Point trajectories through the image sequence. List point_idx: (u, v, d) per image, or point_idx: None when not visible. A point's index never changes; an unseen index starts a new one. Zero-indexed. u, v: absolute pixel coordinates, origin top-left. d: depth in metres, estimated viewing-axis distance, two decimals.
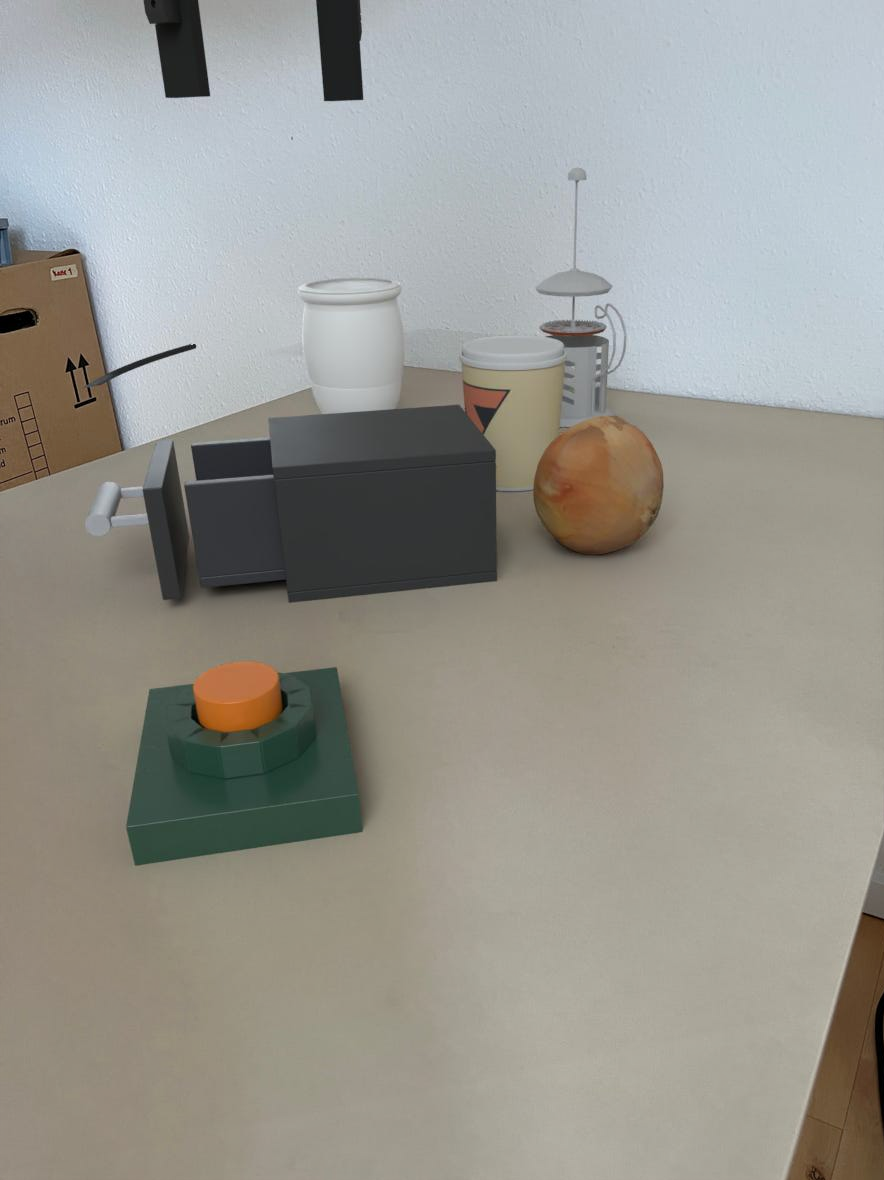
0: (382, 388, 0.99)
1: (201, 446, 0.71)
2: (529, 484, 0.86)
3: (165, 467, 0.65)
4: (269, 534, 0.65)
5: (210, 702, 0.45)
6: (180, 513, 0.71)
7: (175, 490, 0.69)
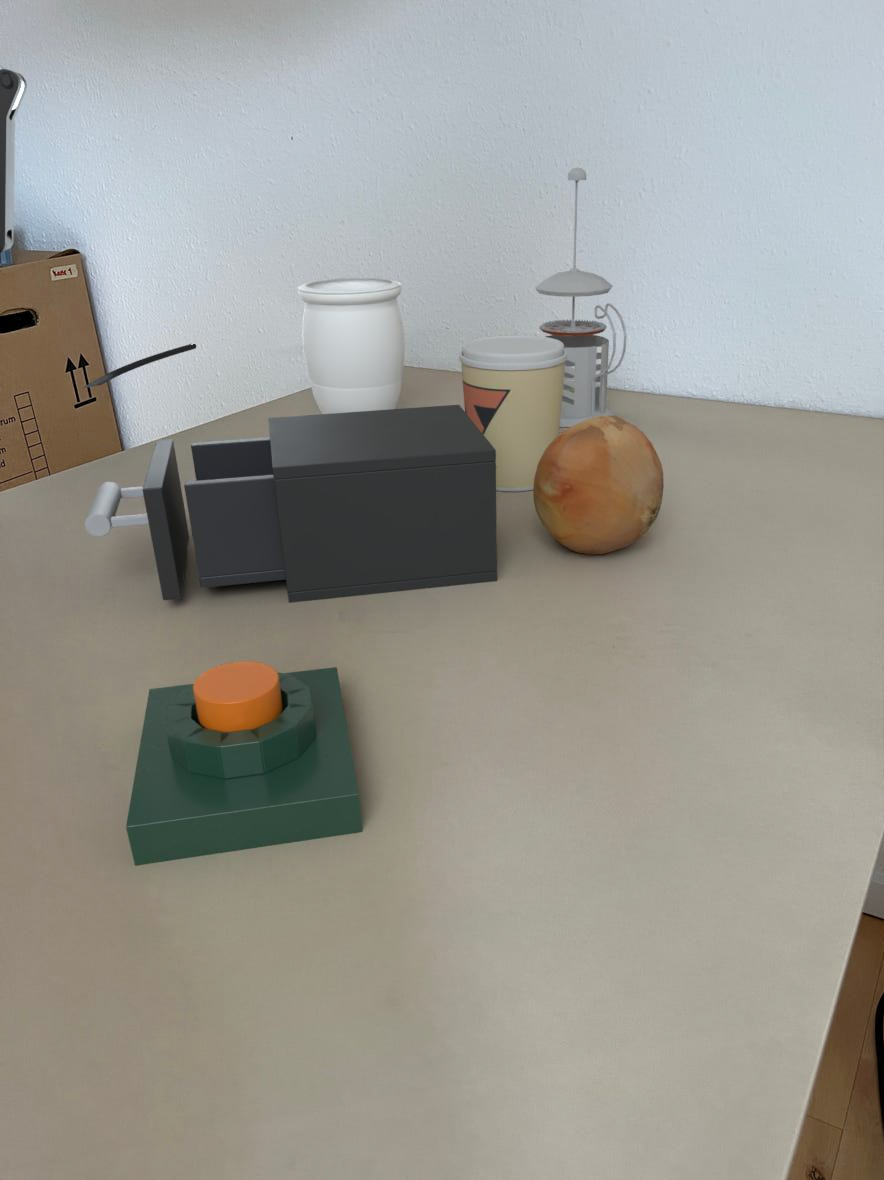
0: (382, 388, 0.99)
1: (201, 446, 0.71)
2: (529, 484, 0.86)
3: (165, 467, 0.65)
4: (269, 534, 0.65)
5: (210, 702, 0.45)
6: (180, 513, 0.71)
7: (175, 490, 0.69)
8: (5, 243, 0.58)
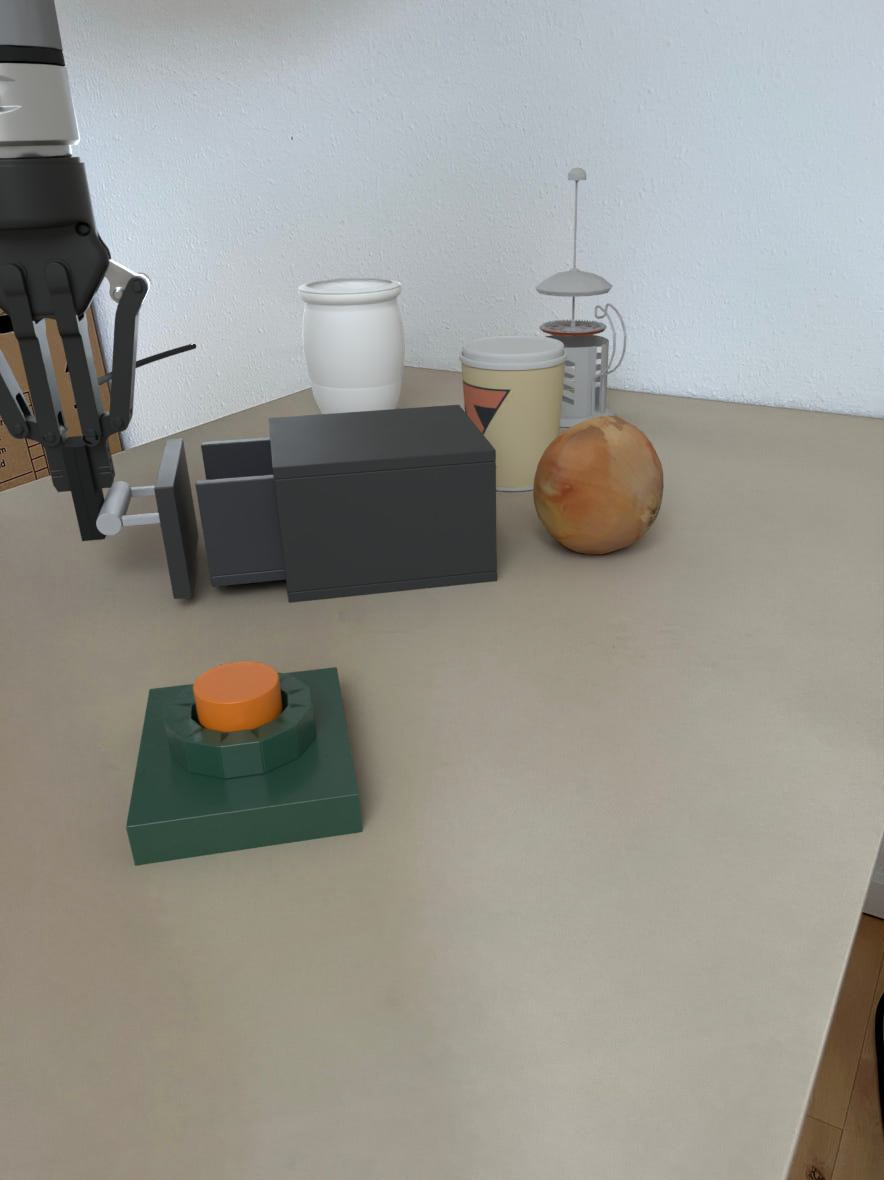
0: (382, 388, 0.99)
1: (211, 445, 0.71)
2: (529, 484, 0.86)
3: (176, 466, 0.65)
4: (280, 533, 0.65)
5: (210, 702, 0.45)
6: (190, 512, 0.71)
7: (185, 489, 0.69)
8: (128, 422, 0.64)
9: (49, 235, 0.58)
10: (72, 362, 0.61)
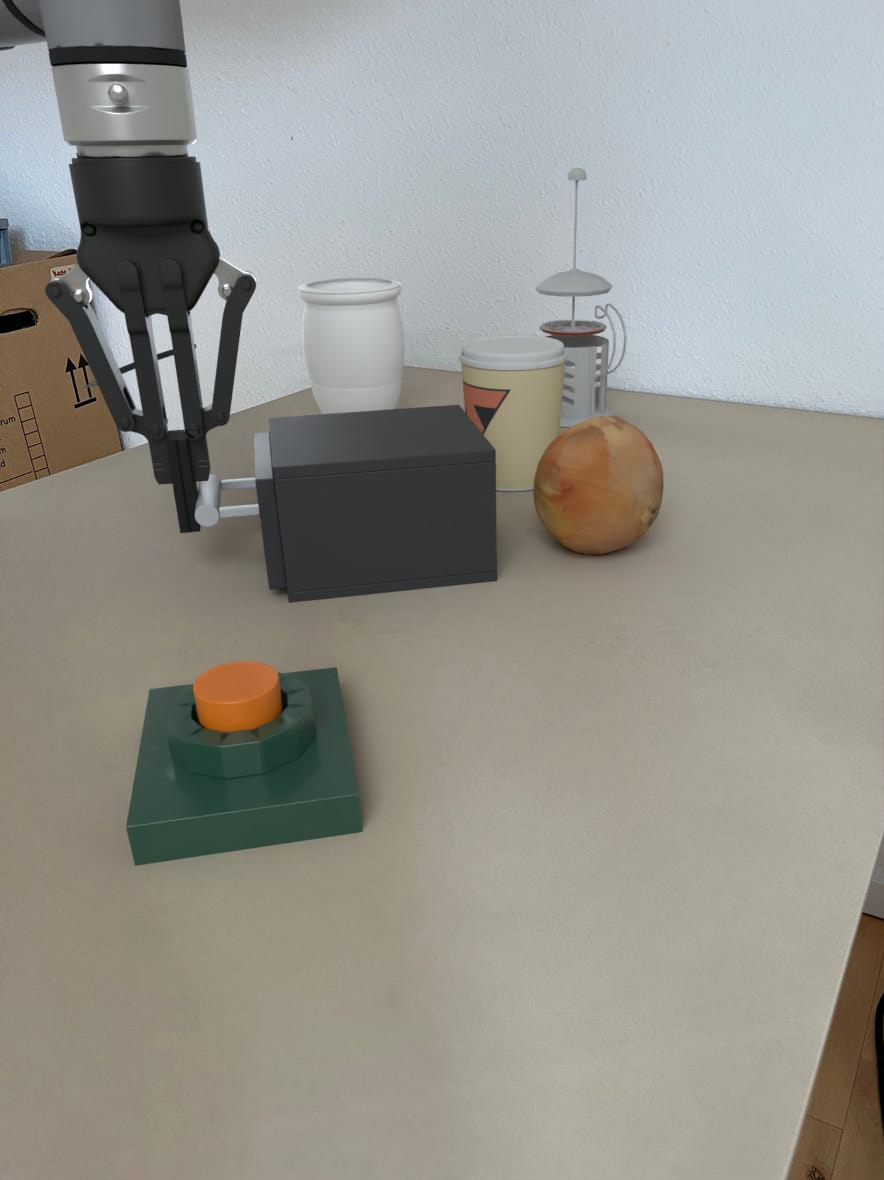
0: (382, 388, 0.99)
1: None
2: (529, 484, 0.86)
3: (271, 459, 0.67)
4: None
5: (210, 702, 0.45)
6: None
7: None
8: None
9: (165, 232, 0.59)
10: (179, 357, 0.62)
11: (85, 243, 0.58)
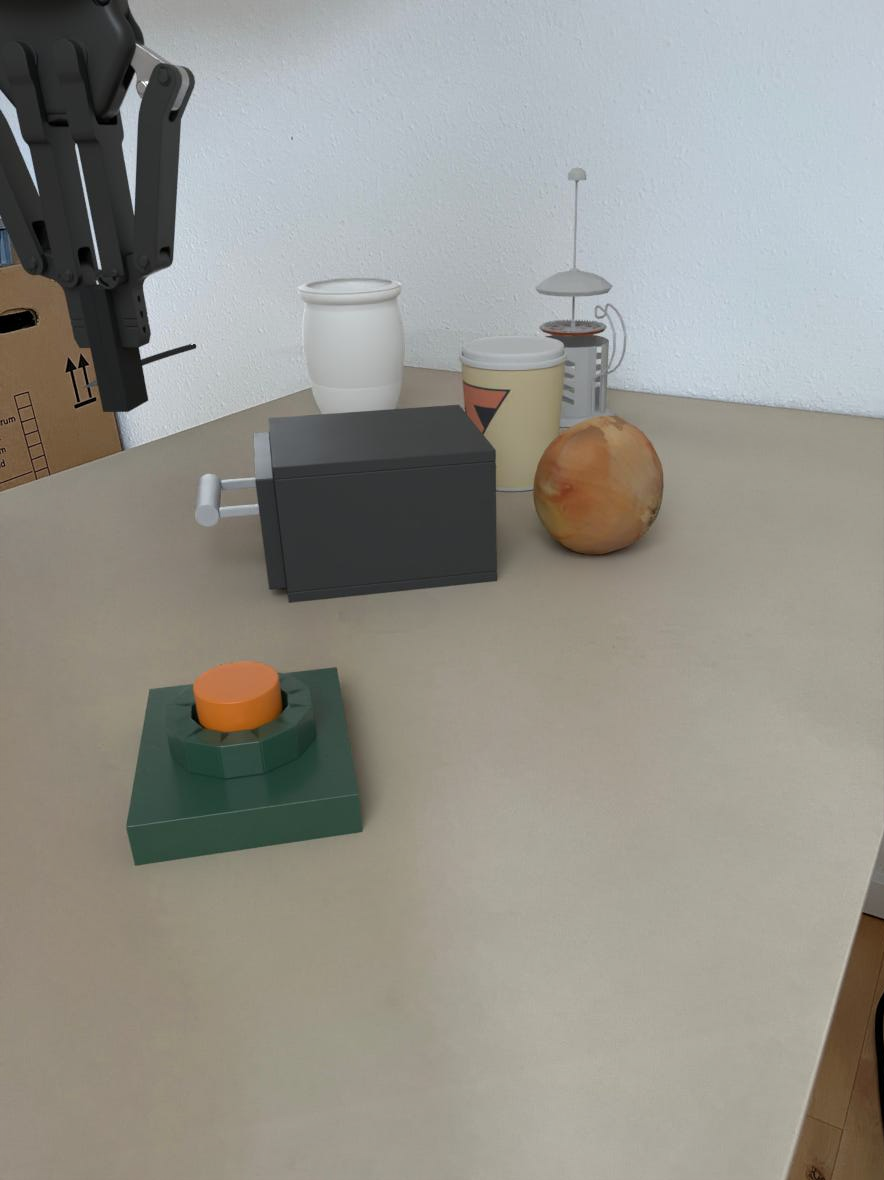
0: (382, 388, 0.99)
1: None
2: (529, 484, 0.86)
3: (271, 459, 0.67)
4: None
5: (210, 702, 0.45)
6: None
7: None
8: (156, 262, 0.51)
9: (62, 4, 0.46)
10: (90, 178, 0.49)
11: None
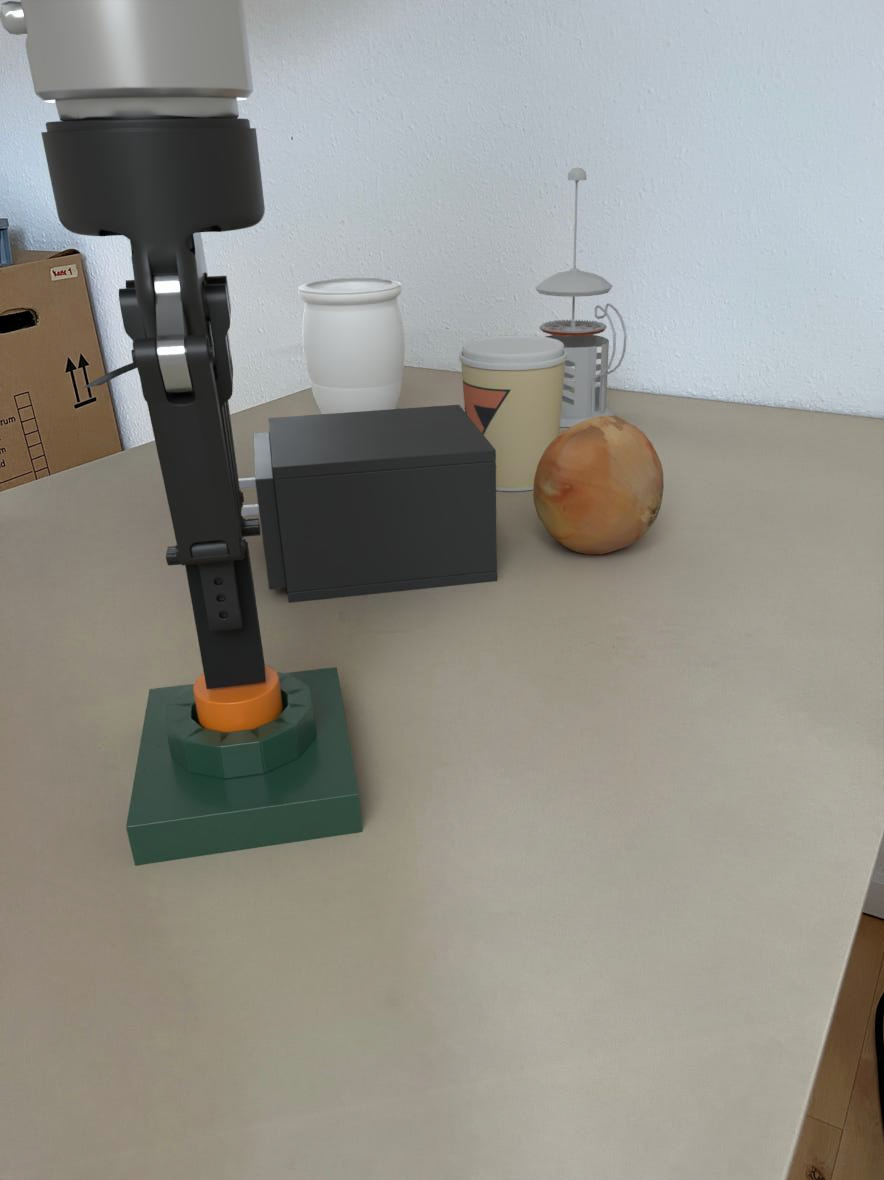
0: (382, 388, 0.99)
1: None
2: (529, 484, 0.86)
3: (271, 459, 0.67)
4: None
5: (210, 702, 0.45)
6: None
7: None
8: (184, 557, 0.39)
9: None
10: None
11: None
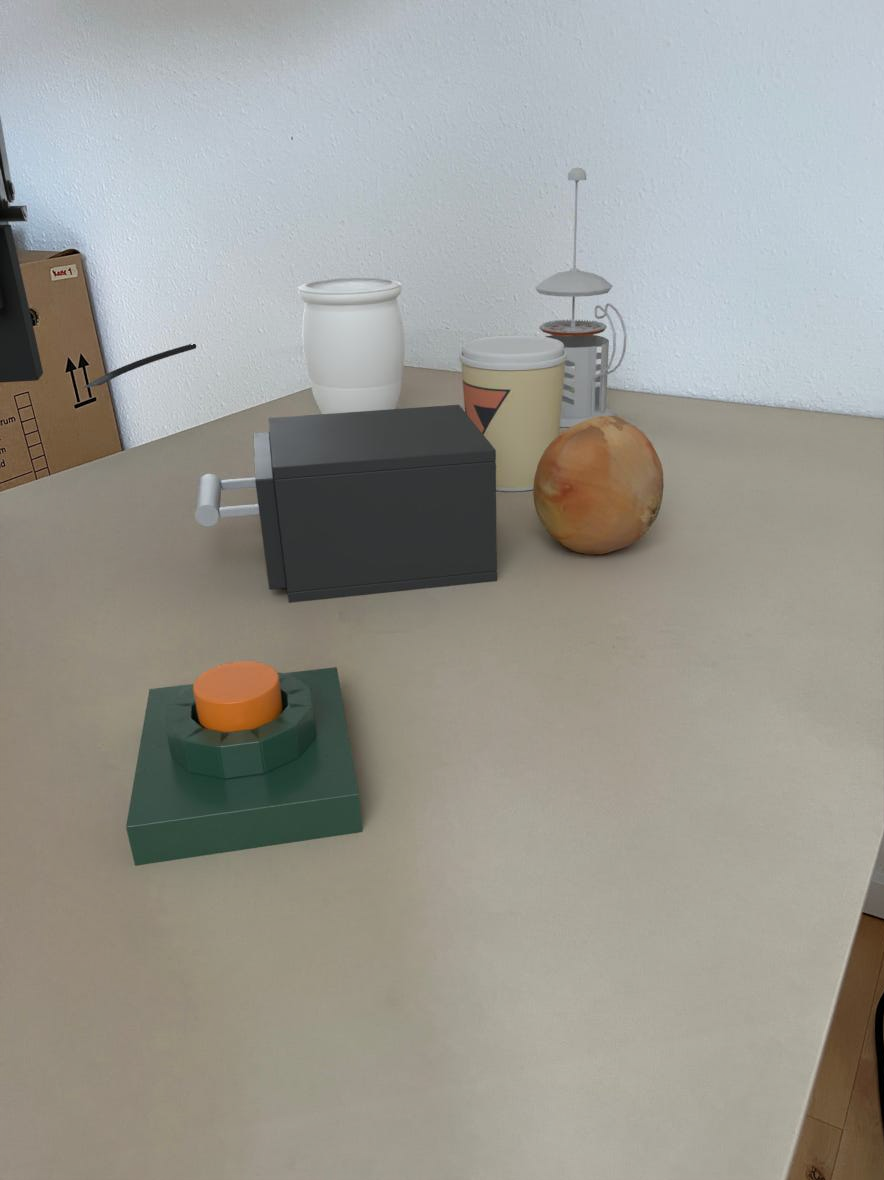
0: (382, 388, 0.99)
1: None
2: (529, 484, 0.86)
3: (271, 459, 0.67)
4: None
5: (210, 702, 0.45)
6: None
7: None
8: None
9: None
10: None
11: None
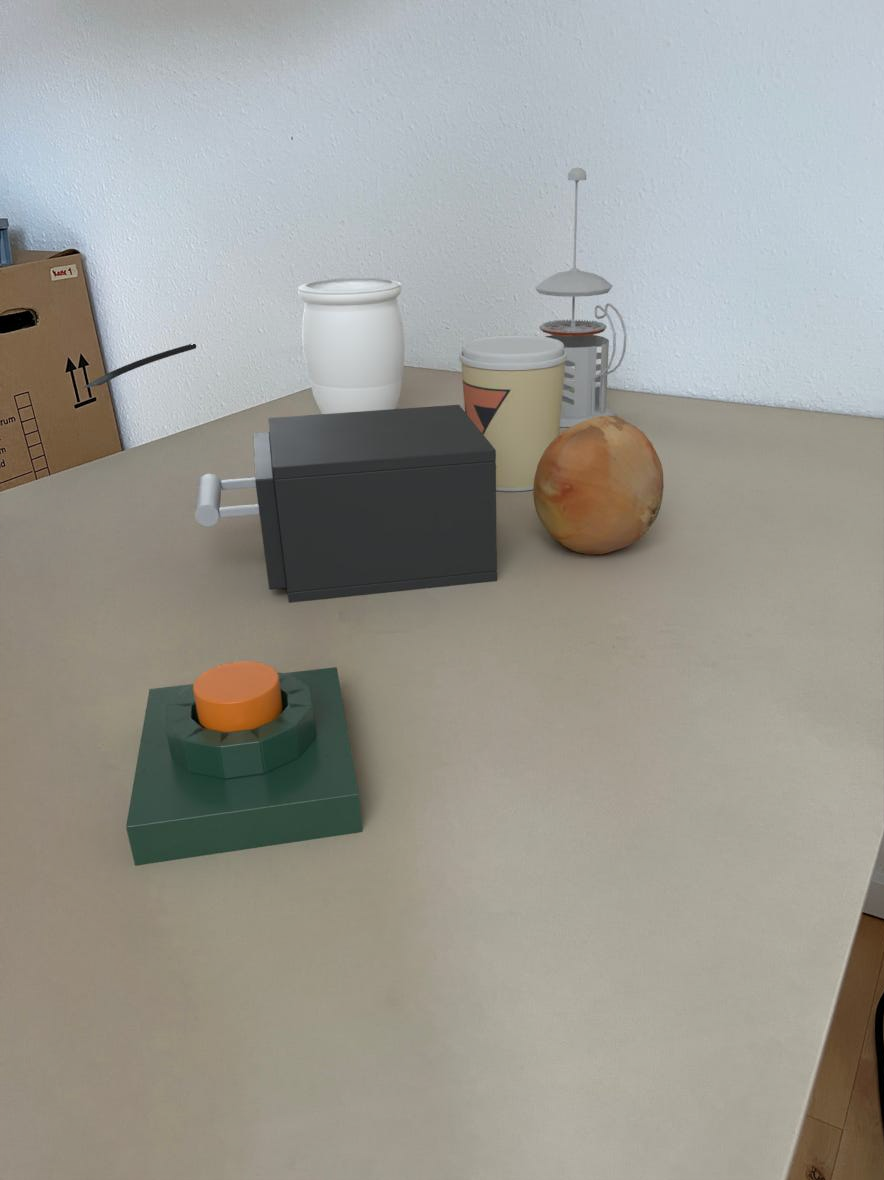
0: (382, 388, 0.99)
1: None
2: (529, 484, 0.86)
3: (271, 459, 0.67)
4: None
5: (210, 702, 0.45)
6: None
7: None
8: None
9: None
10: None
11: None
